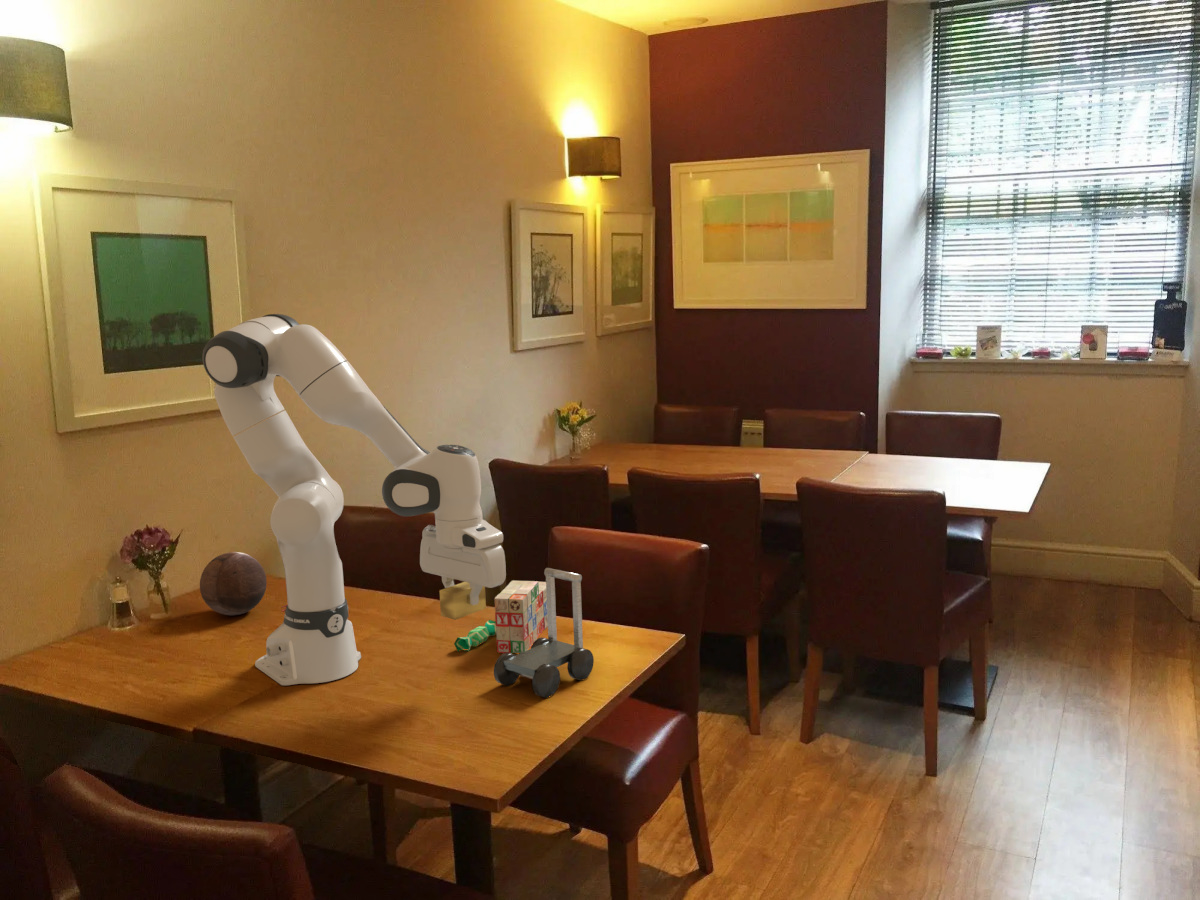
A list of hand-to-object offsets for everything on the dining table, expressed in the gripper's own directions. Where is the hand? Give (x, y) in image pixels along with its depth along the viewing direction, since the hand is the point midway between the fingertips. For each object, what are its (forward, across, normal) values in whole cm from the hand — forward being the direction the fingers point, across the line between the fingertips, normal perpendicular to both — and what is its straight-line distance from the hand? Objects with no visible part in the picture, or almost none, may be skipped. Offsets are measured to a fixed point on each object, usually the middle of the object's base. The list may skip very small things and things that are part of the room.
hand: (463, 601), depth 191 cm
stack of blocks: (+17, -9, +26) cm, 33 cm away
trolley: (+17, +11, +10) cm, 23 cm away
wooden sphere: (+18, -78, -2) cm, 80 cm away
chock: (+2, 0, 0) cm, 2 cm away
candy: (+17, -15, +18) cm, 29 cm away
